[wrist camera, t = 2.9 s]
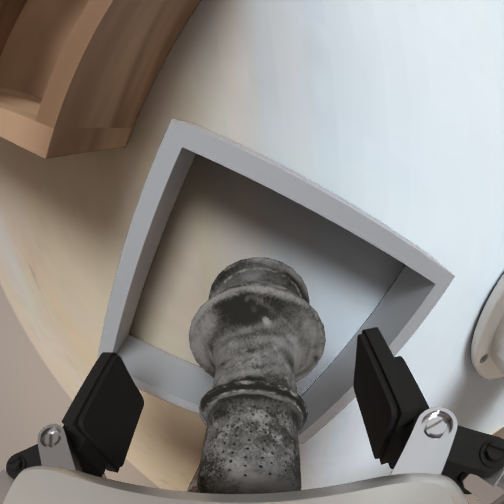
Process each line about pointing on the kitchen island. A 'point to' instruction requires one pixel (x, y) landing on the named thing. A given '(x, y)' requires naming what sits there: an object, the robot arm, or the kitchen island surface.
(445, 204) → the kitchen island surface
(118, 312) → the grey frame
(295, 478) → the grey chess piece
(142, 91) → the walnut bin
